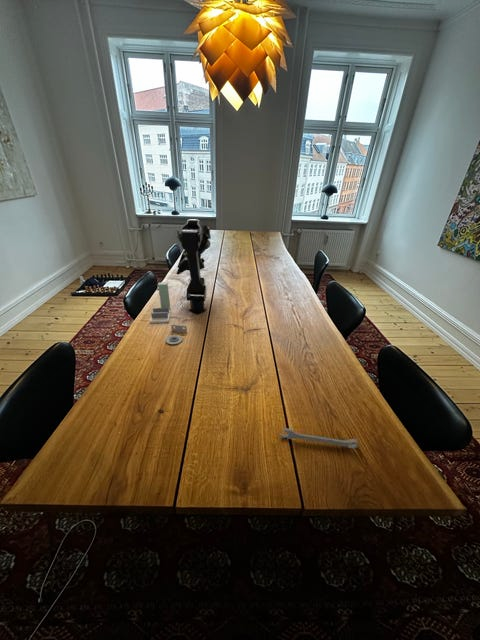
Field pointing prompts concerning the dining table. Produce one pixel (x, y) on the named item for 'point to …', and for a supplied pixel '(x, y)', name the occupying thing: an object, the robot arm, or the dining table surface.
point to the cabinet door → (164, 295)
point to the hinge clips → (160, 315)
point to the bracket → (177, 339)
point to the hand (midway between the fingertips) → (177, 270)
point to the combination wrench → (318, 439)
